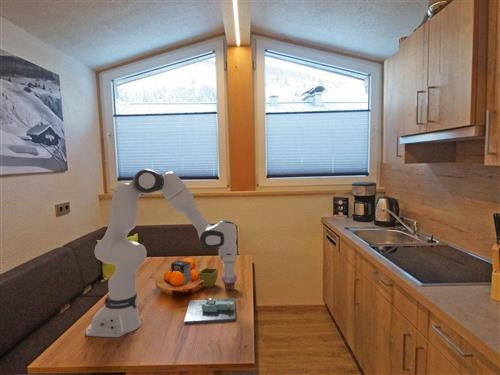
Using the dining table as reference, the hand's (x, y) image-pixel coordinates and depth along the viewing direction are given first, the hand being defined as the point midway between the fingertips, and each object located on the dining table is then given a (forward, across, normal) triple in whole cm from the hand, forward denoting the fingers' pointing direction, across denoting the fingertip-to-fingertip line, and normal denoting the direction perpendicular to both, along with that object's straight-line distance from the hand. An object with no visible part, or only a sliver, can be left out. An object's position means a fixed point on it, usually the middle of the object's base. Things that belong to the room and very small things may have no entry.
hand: (228, 281), depth 158 cm
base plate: (+14, +1, -8) cm, 16 cm away
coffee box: (+14, -28, -24) cm, 40 cm away
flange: (+12, +2, -5) cm, 13 cm away
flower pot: (+13, -32, -9) cm, 36 cm away
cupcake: (+13, -24, +3) cm, 28 cm away
